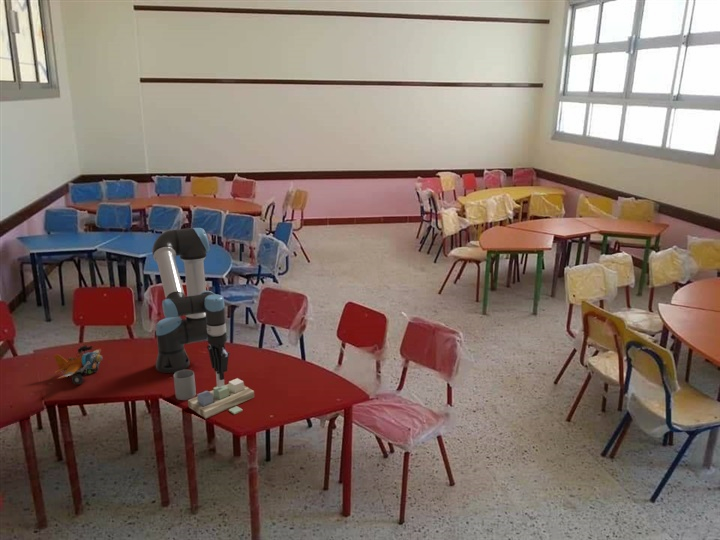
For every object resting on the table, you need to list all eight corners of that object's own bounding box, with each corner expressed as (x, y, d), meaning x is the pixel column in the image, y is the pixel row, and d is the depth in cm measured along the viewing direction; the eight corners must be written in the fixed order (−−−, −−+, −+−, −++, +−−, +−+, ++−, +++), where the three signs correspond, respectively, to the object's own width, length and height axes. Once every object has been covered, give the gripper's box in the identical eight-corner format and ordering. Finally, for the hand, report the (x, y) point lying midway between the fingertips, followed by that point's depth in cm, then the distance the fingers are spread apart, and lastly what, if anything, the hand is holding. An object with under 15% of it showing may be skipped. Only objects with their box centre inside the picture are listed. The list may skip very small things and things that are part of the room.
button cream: (229, 391, 247) (228, 381, 245) (238, 387, 250) (237, 378, 248) (235, 394, 244) (234, 385, 242) (244, 391, 247) (243, 381, 245)
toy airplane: (90, 388, 246) (75, 357, 242) (45, 399, 250) (30, 369, 247) (126, 358, 273) (113, 329, 270) (85, 368, 278) (72, 340, 275)
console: (188, 406, 238) (187, 400, 237) (236, 386, 255) (236, 380, 254) (205, 418, 230) (205, 412, 229) (254, 397, 246) (254, 391, 245)
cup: (199, 394, 248) (197, 373, 245) (182, 402, 242) (180, 380, 239) (188, 388, 253) (186, 367, 250) (171, 395, 247) (169, 374, 244)
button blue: (197, 404, 236) (197, 394, 235) (207, 400, 239) (206, 390, 238) (203, 408, 233) (203, 398, 232) (213, 404, 236) (212, 394, 235)
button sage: (213, 397, 241) (213, 387, 240) (223, 393, 245) (222, 384, 243) (219, 401, 238) (219, 391, 237) (229, 397, 242) (228, 387, 240)
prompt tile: (228, 410, 235) (228, 409, 235) (237, 407, 238) (236, 405, 238) (234, 414, 233) (234, 413, 233) (242, 410, 236) (242, 409, 235)
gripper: (199, 331, 235) (204, 383, 242) (217, 340, 226) (221, 394, 233) (215, 326, 240) (219, 377, 247) (233, 334, 231) (237, 387, 238)
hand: (220, 385), depth 240 cm, fingers closed
